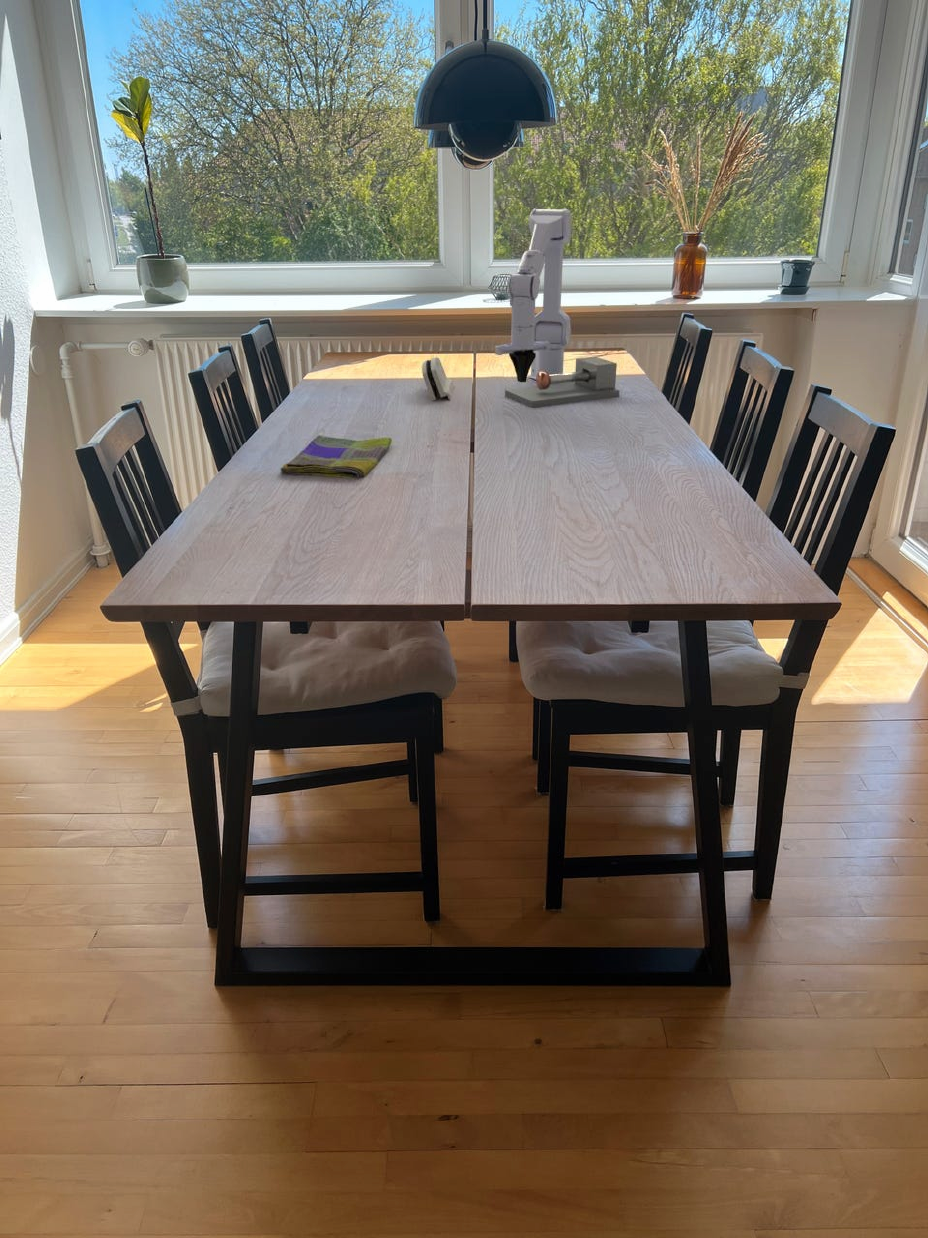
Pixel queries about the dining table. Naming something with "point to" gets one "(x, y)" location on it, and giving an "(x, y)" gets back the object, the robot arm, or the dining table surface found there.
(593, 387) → the bearing block
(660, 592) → the dining table surface
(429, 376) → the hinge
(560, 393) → the base plate
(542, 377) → the shaft
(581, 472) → the dining table surface
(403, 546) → the dining table surface
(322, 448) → the dish towel
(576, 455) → the dining table surface
